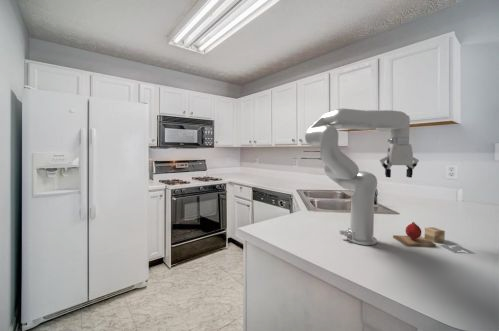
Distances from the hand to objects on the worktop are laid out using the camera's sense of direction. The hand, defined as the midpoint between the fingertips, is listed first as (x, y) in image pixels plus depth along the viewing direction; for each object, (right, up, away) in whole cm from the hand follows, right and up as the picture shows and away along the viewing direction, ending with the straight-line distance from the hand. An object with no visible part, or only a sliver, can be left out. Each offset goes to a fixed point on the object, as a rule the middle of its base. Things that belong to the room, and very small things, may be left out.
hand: (398, 177), depth 110 cm
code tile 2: (+13, -29, -6) cm, 32 cm away
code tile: (+14, -29, -16) cm, 36 cm away
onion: (+1, -28, -8) cm, 29 cm away
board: (+1, -29, -8) cm, 30 cm away
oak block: (+13, -28, -6) cm, 32 cm away
